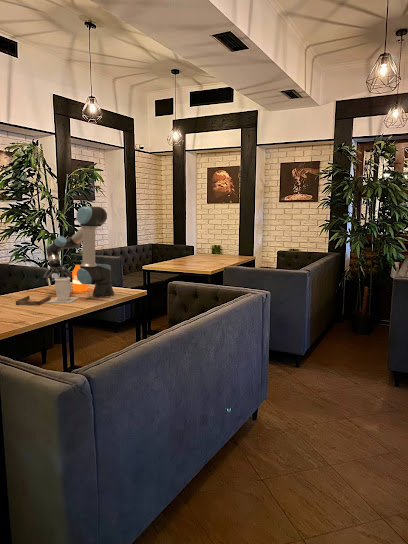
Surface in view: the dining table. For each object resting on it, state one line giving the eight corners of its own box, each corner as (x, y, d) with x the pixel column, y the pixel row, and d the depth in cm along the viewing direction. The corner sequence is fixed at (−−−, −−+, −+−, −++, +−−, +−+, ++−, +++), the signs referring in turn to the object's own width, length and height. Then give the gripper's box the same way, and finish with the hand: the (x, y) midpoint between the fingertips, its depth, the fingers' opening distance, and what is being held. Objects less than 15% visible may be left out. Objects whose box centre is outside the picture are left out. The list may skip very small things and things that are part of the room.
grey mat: (79, 298, 286) (79, 297, 286) (70, 303, 270) (70, 302, 270) (57, 297, 287) (57, 297, 287) (47, 302, 271) (47, 302, 271)
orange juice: (81, 289, 320) (80, 264, 317) (88, 290, 315) (87, 265, 312) (72, 290, 314) (71, 265, 311) (79, 291, 309) (78, 266, 306)
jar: (66, 301, 272) (65, 280, 270) (52, 300, 274) (51, 279, 272) (74, 298, 283) (73, 277, 280) (61, 297, 285) (60, 276, 283)
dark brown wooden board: (50, 299, 281) (50, 296, 280) (39, 305, 264) (39, 301, 263) (28, 299, 281) (28, 295, 281) (15, 304, 265) (15, 301, 264)
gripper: (71, 264, 305) (77, 287, 295) (36, 266, 292) (40, 290, 282) (72, 258, 300) (78, 281, 289) (37, 260, 287) (41, 284, 276)
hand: (60, 285), depth 285 cm, fingers open, 13 cm apart
